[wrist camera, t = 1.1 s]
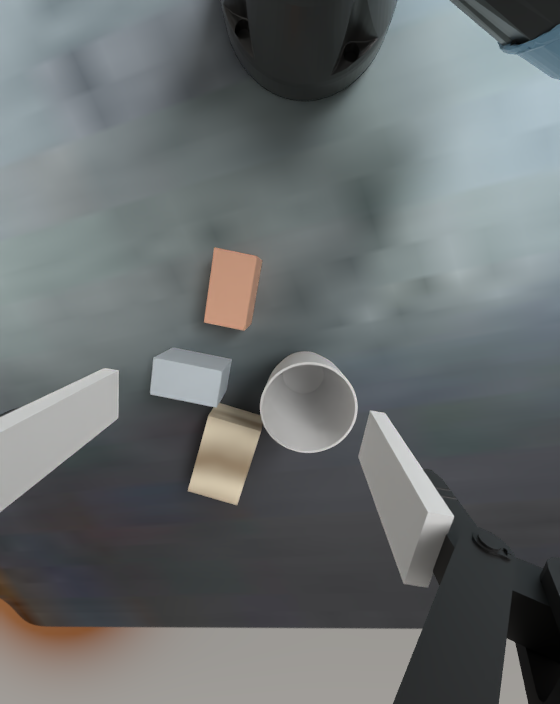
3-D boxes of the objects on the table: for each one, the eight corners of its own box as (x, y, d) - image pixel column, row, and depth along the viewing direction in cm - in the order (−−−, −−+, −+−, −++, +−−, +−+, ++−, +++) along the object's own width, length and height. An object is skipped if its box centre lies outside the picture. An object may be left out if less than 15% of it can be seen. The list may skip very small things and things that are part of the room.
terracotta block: (226, 253, 31) (214, 247, 26) (262, 260, 31) (257, 256, 26) (216, 316, 33) (203, 322, 28) (251, 323, 33) (244, 330, 28)
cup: (276, 410, 35) (270, 459, 25) (262, 346, 33) (250, 371, 23) (342, 399, 34) (363, 444, 25) (332, 333, 33) (350, 353, 23)
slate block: (169, 378, 35) (149, 394, 30) (173, 347, 34) (153, 357, 29) (226, 390, 35) (216, 407, 30) (232, 358, 34) (222, 371, 29)
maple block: (217, 401, 35) (208, 415, 31) (264, 415, 35) (261, 431, 32) (198, 469, 37) (187, 490, 34) (242, 482, 38) (237, 505, 34)
